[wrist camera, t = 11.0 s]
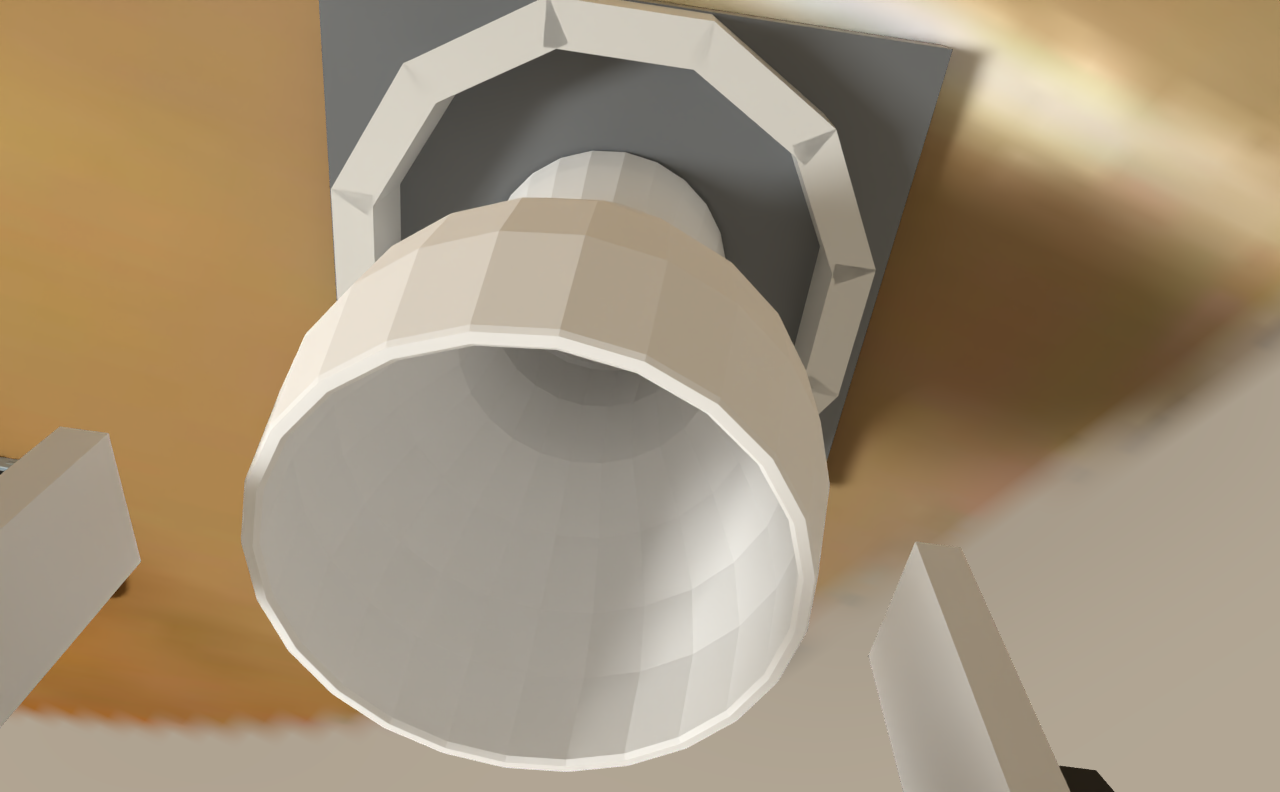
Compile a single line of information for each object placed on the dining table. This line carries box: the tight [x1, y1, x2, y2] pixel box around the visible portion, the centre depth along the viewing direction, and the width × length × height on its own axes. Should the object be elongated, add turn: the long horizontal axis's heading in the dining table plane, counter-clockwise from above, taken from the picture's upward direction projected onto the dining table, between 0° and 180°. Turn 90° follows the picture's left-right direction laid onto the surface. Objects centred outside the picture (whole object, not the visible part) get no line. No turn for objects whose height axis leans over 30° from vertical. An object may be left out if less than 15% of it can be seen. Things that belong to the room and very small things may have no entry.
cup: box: [241, 151, 830, 772], centre depth 20 cm, size 11×11×15 cm
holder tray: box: [319, 0, 953, 462], centre depth 26 cm, size 16×18×4 cm
